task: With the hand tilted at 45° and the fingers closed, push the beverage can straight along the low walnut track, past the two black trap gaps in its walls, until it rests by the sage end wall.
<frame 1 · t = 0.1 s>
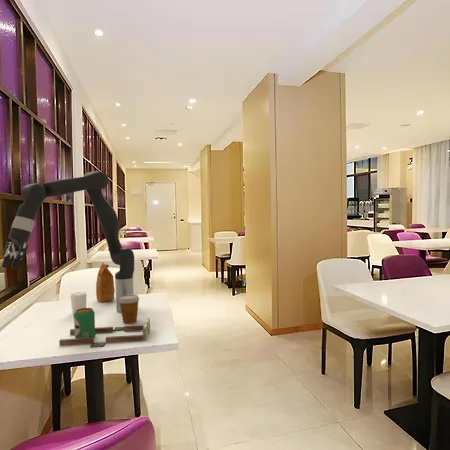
hand: (9, 267, 144), 31 cm above the table, tool tilted 20°, fingers open, 8 cm apart
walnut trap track: (107, 336, 152), on the table
white cup: (79, 312, 190), on the table
disposable coffee cup: (129, 322, 172), on the table
beverage can: (85, 338, 151), on the table
coffee package: (105, 300, 215), on the table
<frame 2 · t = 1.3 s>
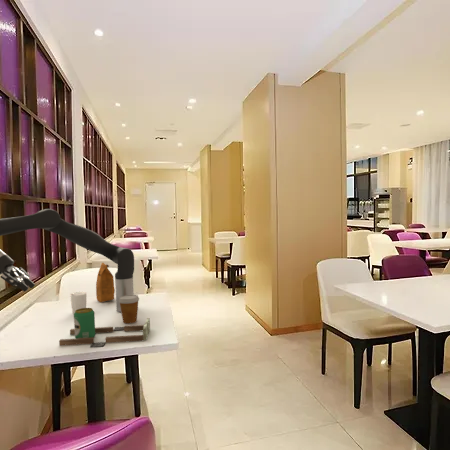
hand: (30, 288, 148), 22 cm above the table, tool tilted 45°, fingers open, 5 cm apart
nothing on the table moved.
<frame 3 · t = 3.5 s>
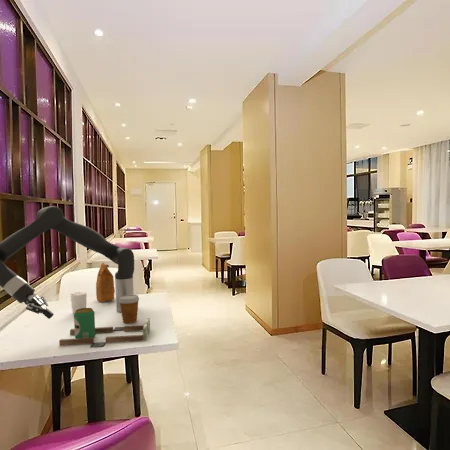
hand: (51, 316, 150), 10 cm above the table, tool tilted 45°, fingers closed
nothing on the table moved.
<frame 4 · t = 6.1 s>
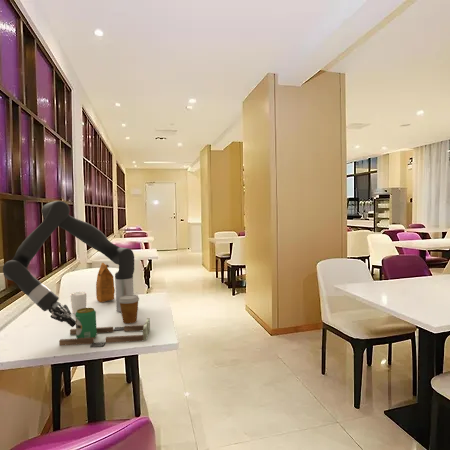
hand: (74, 325, 150), 6 cm above the table, tool tilted 45°, fingers closed
beverage can: (86, 338, 151), on the table, touching gripper
everything else where it was.
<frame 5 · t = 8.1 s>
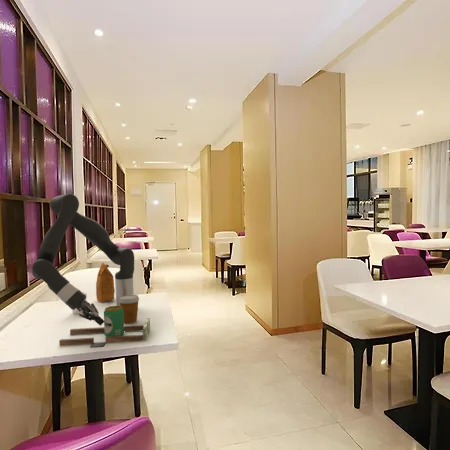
hand: (102, 323, 151), 6 cm above the table, tool tilted 45°, fingers closed
beverage can: (114, 336, 153), on the table, touching gripper
everything else where it was.
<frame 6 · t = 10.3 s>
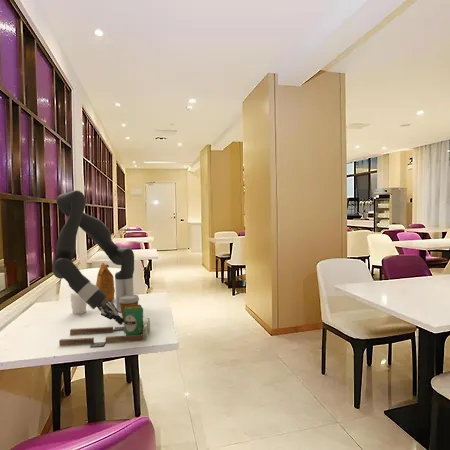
hand: (122, 322, 151), 6 cm above the table, tool tilted 45°, fingers closed
beverage can: (134, 334, 154), on the table, touching gripper
everything else where it was.
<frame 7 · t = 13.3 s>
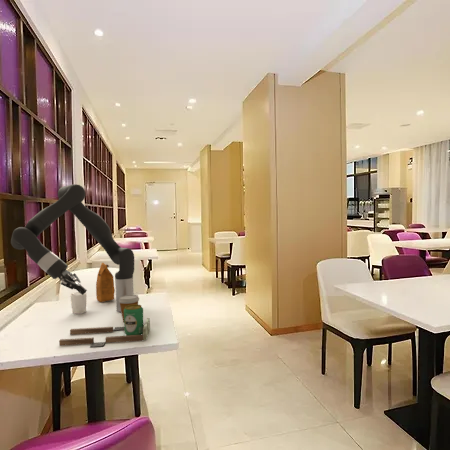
hand: (84, 292, 150), 19 cm above the table, tool tilted 45°, fingers closed
beverage can: (134, 334, 154), on the table
everything else where it was.
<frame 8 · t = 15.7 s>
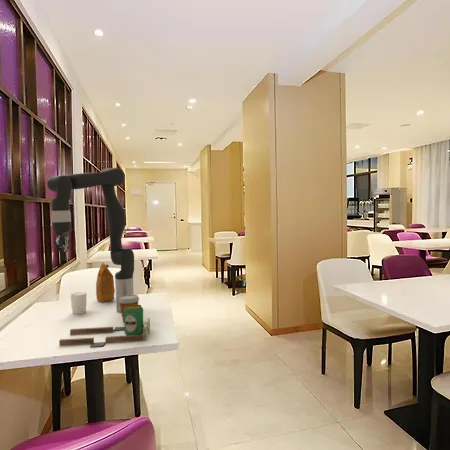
hand: (63, 260, 159), 32 cm above the table, tool pointing down, fingers closed
nothing on the table moved.
at the end: beverage can inside the target area on the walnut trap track (1.5 cm from its centre), point 0.0 cm above the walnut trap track's base; beverage can tilted 0°; the gripper is holding nothing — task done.
